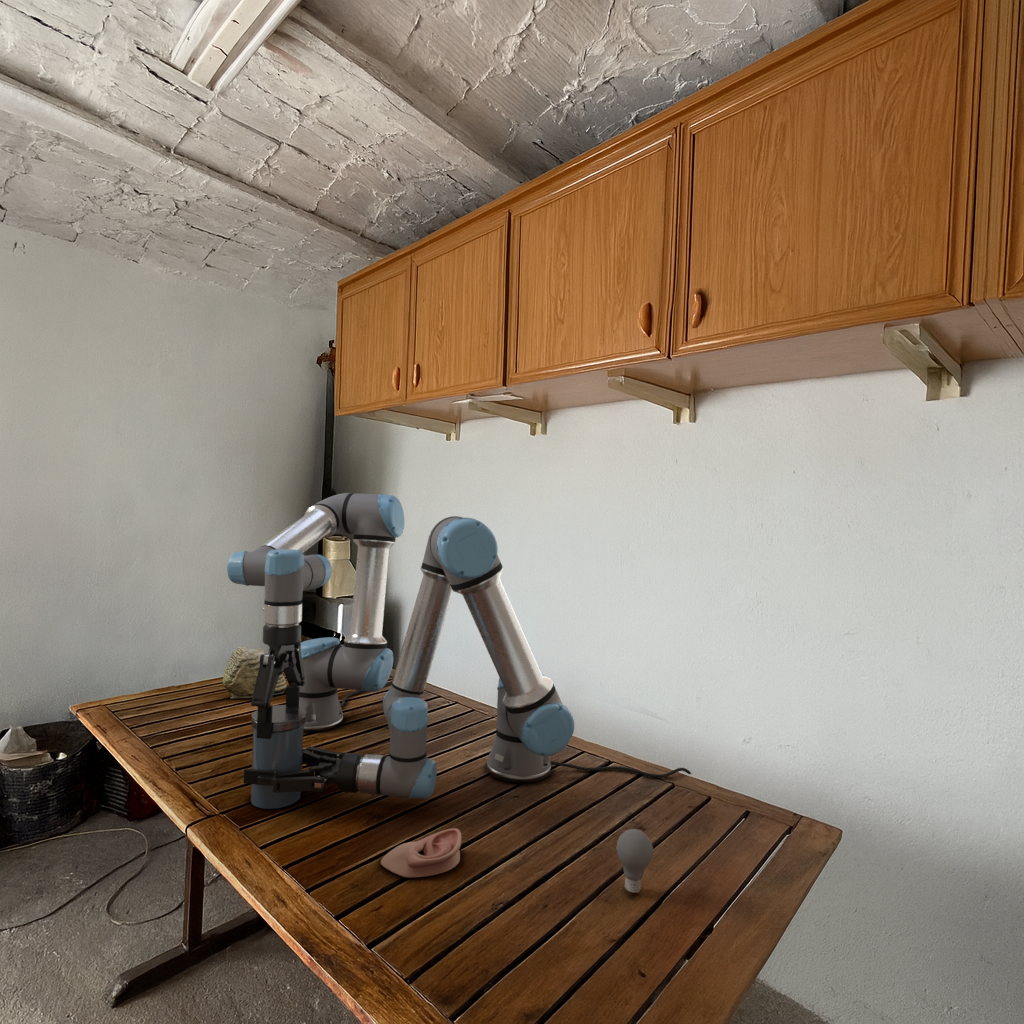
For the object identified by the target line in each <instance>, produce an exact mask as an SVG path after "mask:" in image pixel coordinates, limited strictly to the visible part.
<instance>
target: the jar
mask: <svg viewBox="0 0 1024 1024" xmlns="http://www.w3.org/2000/svg"><path fill="white" fill-rule="evenodd" d="M304 733H305V732H304V724H303V725H302V726H300V727H298V728H295V729H291V730H287V731H279V732H272V735H271V738H270V739H262V738H257V730H256V729H254V728H253V727H252V749H251V769H257V770H269V771H275V770H277V772H278V773H286V772H293V771H301V770H303V765H302V758H303V749H304ZM301 796H302V791H301V792H280V793H274V792H273V786H268V785H256V784H250V804H252V805H253V806H254V807H256V808H258V809H265V810H272V809H281V808H284V807H287V806H291V805H293V804H295V803H297V802H298V801H299V800H300V799H301Z"/></svg>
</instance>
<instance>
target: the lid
mask: <svg viewBox="0 0 1024 1024" xmlns="http://www.w3.org/2000/svg"><path fill="white" fill-rule="evenodd" d="M257 714H258V709H256V710H255V711H254V712H252V714H251V719H250V720H251V721H250V725H251V727H252V729H253V728H254V729H256V730H257ZM305 722H306V710H305V709H304V708H302V707H298V706H293V705H286V704H278V705H277V704H276V705H273V709H272V732H279V731H287V730H291V729H295V728H298V727H300V726H302V725H303V724H304V723H305Z"/></svg>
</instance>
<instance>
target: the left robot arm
mask: <svg viewBox="0 0 1024 1024" xmlns="http://www.w3.org/2000/svg"><path fill="white" fill-rule="evenodd" d="M404 529H405V513H404V509H403V505H402V502H401V501H400V499H398V497H397V496H395V495H390V494H384V493H359V492H357V493H356V492H342V493H338V494H335V495H334V494H333V495H332V496H329V497H326V498H324V499H322V500H320V501H318V502H316V503H315V504H313V505H311V506H310V507H308V508H307V510H306V511H305V512H304V515H303V516H302V517H301V518H299V519H298V520H296V521H294V522H293V523H292V524H290V525H288V526H287V527H286V528H284V529H283V530H282V531H280V532H279V533H277V534H276V535H275V536H273V537H272V538H270V539H268V540H267V541H265V542H264V543H263V544H261V545H260V546H259V547H257V548H256V549H254V550H252V551H247V550H244V551H236V552H234V553H233V554H231V555H230V557H229V559H228V560H227V565H226V571H227V577H228V578H229V579H228V580H229V581H230V582H231V583H232V584H235V585H243V586H246V587H249V586H254V587H264V599H263V608H262V611H263V623H264V625H263V627H262V643H263V644H264V645H267V646H268V647H269V648H268V653H267V655H261V656H260V667H259V671H258V676H257V680H256V685H255V689H254V694H253V697H252V699H251V703H250V704H251V706H252V707H257V710H258V714H257V738H262V739H270V738H271V735H272V709H273V706H274V705H273V704H271V703H272V700H273V697H274V695H273V694H274V691H275V688H276V685H277V682H278V678H279V676H280V675H281V674H282V675H283V673H284V675H285V676H284V677H285V680H286V682H287V684H288V686H287V687H286V690H285V705H293V706H298V707H302V708H304V709H305V710H306V722H305V723H304V732H303V733H316V732H325V731H329V730H332V729H335V728H337V727H339V726H340V725H342V723H343V722H344V714H343V709H342V707H344V706H345V704H346V699H347V698H350V697H351V696H354V695H356V694H359V693H366V692H373V693H375V692H379V691H381V690H382V689H383V688H384V687H385V686H388V685H391V684H392V680H390V681H389V679H390V676H391V673H392V669H393V665H394V653H393V651H392V650H391V648H387V647H388V641H387V639H386V638H385V637H384V636H383V627H384V617H385V604H386V593H387V582H388V569H389V557H390V556H389V554H390V549H391V548H392V547H393V546H394V545H396V538H399V537H401V536H402V535H403V533H404ZM338 534H339V535H340V534H342V535H343V534H344V535H353V537H352V541H353V543H354V544H355V545H356V546H357V553H356V554H357V555H356V564H355V566H356V567H355V577H354V578H355V579H354V587H353V598H352V599H353V600H352V609H351V610H352V612H351V613H352V614H351V621H350V631H349V632H350V633H349V634H348V636H346V637H345V638H344V639H343V644H340V643H341V641H340V639H339V638H338V637H334V636H333V637H332V636H331V637H318V638H313V639H307V640H304V641H302V625H301V624H300V623H302V621H303V593H304V591H309V590H315V589H319V588H320V587H322V586H324V585H326V584H328V582H329V581H330V579H331V578H332V575H333V567H332V564H331V562H330V561H329V559H328V558H327V557H325V556H324V555H322V554H316V553H315V554H308V555H305V554H304V553H306V552H307V551H308V550H309V549H311V548H312V547H313V546H314V545H315V544H317V543H318V542H320V541H321V540H322V539H328V538H330V537H332V536H333V535H338ZM301 641H302V642H301ZM338 689H339V690H340V689H341V690H351V691H352V692H350V693H347V694H345V695H344V696H343V697H342V699H341V702H340V699H339V695H338Z"/></svg>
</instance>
